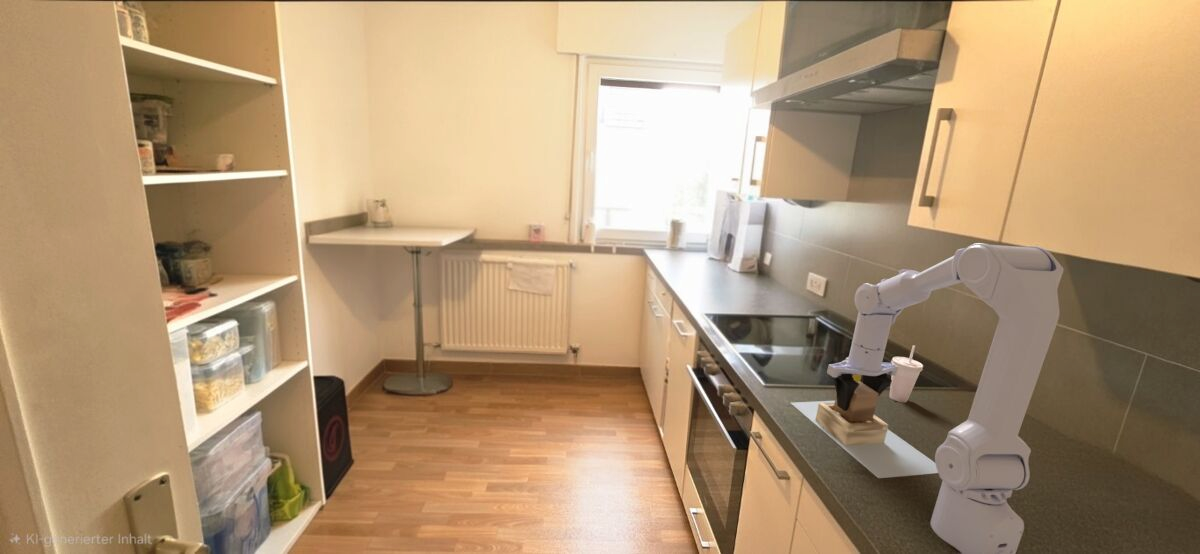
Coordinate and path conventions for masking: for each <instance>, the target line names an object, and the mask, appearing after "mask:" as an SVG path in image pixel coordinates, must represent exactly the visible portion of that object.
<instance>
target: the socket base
mask: <svg viewBox="0 0 1200 554" xmlns="http://www.w3.org/2000/svg"><path fill="white" fill-rule="evenodd" d="M834 404H835V403H819V405H818V410H817V415H816V419H815V421H817V422H818V423H819V424H820V425H821V426H823V427H824V428H825V429H826V430H827V431H828V432H830V433H831V434H832V435H833V436H834V437H836V438H837V439H838V440H839V441H840V442H841V443H843V444H844V445H845V446H846V445H860V444H875V443H884V441H885V438H886V434H887V430H889V424H888V423H886V422H885V421H884V420H882V419H881V418H880V417H878V416H877V415H876V414H874V415H873V419H872V421H859V422H850V421H849V420H847V419H846V418H845V417H844V416H842V415H841V414H840V413H838V412H837V411H836V410H835V409H833V408H834Z"/></svg>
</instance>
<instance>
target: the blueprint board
mask: <svg viewBox="0 0 1200 554" xmlns="http://www.w3.org/2000/svg"><path fill="white" fill-rule="evenodd" d="M819 403H835V400H821V401H819V400H818V401H817V400H816V401H802V402H801V401H797V402H790V405H792V406H793V407H794V408H796V409H797V410H798V411H799V412H801V414H802V415H803V416H804V417H806V418H807V419H809V421H811V422H812V423H813V424H814V425H815V426H816V427H818V428H819V429H820V430H821V431H822V432H823V433H824V434H826V435H827V436H828V437H830V438H831V440H833V441H834V442H835V443H836V444H837V445H839V446H840V447H841V448H842V449H843V450H845V451H846V452H847V453H848V454H849V455H850V456H852V458H853V459H855V460H856V461H857V462H858V463H860V464H861V465H862V466H863V467H865V468H866V469H867V470H868V471H869V472H870V473H871V474H872V475H874V477H876V478H877V479H887V478H896V477H897V478H898V477H909V476H920V475H923V476H924V475H930V474H931V475H933V474H939V473H938V471H937V468H936V464H935V461H934V460H932V459H931V458H929V457H928V456H926V455H925V454H923V453H922V452H921V451H919V450H918V449H916V448H915V447H914V446H912V445H911V444H909V443H908V442H907V441H905V440H904V439H902V438H901V437H900V436H898V435H897V434H896V433H894V432H893V431H891V430H890V429H888V430H887V434H886V438H885V441H884V443H875V444H860V445H846V446H845V445H844V444H843V443H841V442H840V441H839V440H838V439H837V438H836V437H834V436H833V435H832V434H831V433H830V432H828V431H827V430H826V429H825V428H824V427H823V426H821V425H820V424H819V423H818V422H817V421H815V419H816V415H817V410H818V405H819Z"/></svg>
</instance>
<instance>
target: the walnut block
mask: <svg viewBox="0 0 1200 554" xmlns="http://www.w3.org/2000/svg"><path fill="white" fill-rule="evenodd" d="M858 383H859V386H858V387H857V388H856V390H855V391H854V393H853V396H852V398H851V402H850V405H849V408H848V410H847V411H844V410H842V409H841V408H840V407H838V406H837V394H836V396H835V400H834V401H835V404H834V408H833V409H835V410H836V411H837V412H838V413H840V414H841V415H842V416H844V417H845V418H846V419H847V420H849V421H850V422H859V421H872V419H873V415H875V410H876V406H877V404H878V398H879V397H878V395H879V393H877V392H876V391H874V390H873V389H871V388H870V387H868V386H867V385H865V384H863V381H861V380H860V381H859V382H858Z"/></svg>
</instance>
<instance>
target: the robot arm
mask: <svg viewBox="0 0 1200 554" xmlns="http://www.w3.org/2000/svg"><path fill="white" fill-rule="evenodd" d="M1064 269H1065V268H1064V267H1063V266H1062V265H1061V263H1059V261H1058V260H1057V259H1056V258H1055V256H1054V255H1053V254H1052V253H1051V252H1050V251H1049V250H1048V249H1045V248H1043V247H1040V246H1013V245H1012V246H1011V245H999V244H998V245H997V244H989V243H982V242H977V243H973V244H971V245H969V246H966V247H964V248H960V249H957V250H956V251H955V253H954V255H953V256H951V257H948V258H946V259H945V260H942V261H940V262H939V263H937V264H935V265H933V266H930V267H929V268H926V269H925V270H922V271H921V272H920V271H917V270H914V269H913V270H912V269H906V268H905V269H904V268H903V269H901V270H898V274H896V275H895V276H892V277H890V278H883V279H881V280H880V282H878V283H877V284H871V283H868V282H867V283H863V284H862V285H860V286H858V288H857V289H856V292H855V294H854V305H855V309H856V310H857V312H858V313H857V318H856V323H855V327H854V332H853V336H852V340H851V346H850V350H849V355H848V357H846V358H845V360H846V361H843V360H842V361H843V362H842V361H840V362H836V363H831V364H830V363H829V364H828V366H827V370H826V373H827V374H828V375H829V376H830V377H832V380H833V383H834V388H835V392H836V395H837V406H838V407H840V408H841V409H842V410H844V411H847V410H848V408H849V405H850V402H851V398H852V396H853V393H854V391H855V390H856V388H857V387H858V386H859V383H858V382H856V381H854V380H853V379H854V378H852V376H853V375H862V383H863V384H865V385H867V386H868V387H870V388H871V389H873V390H874V391H876V392H877V393H879V395H878V398H879V397H880V396H881V394H882V393H883V392H884V391H885V390H886V389H888V387H890V386H891V382H892V380H891V377H888V375H890V376H891V375H892V376H896V374H897V370H898V367H897V366H896V365H894V364H892V362H883V360H884V355H885V352H886V351H885V350H886V347H887V343H888V339H889V334H890V331H891V330H890V329H891V326H893V325H894V324H895V323H896V320H897V318H898V316H899V315H900V314H901V313H902V312H903V310H904V309H905V308H908V307H911V306H913V305H914V306H915V305H917V304H920V303H923V302H925V301H927V300H928V299H929V298H930V296H931V294H932V292H933V291H937V290H940V289H943V288H947V287H950V286H953V285H957V284H961V283H962V284H964V286H965V287H966V288H968V289H969V290H970V291H971V293H974V294H975V295H976V297H978V298H979V299H980V300H981V301H983V302H984V303H985V304H986V305H987V306H988V307H990V308H991V309H993V311H994V312H995V313H996V315H997V316H998V317H999V318H998V323H997V326H996V329H995V332H994V336H993V338H992V342H991V345H990V348H989V351H988V354H987V358H986V360H985V364H984V367H983V370H982V373H981V376H980V379H979V382H978V386H977V389H976V392H975V395H974V398H973V401H972V404H971V407H970V411H969V414H968V417H967V419H966V420H965V421H964V422H962V423H960V424H958V425H956V426H955V427H954V428H952V429H950V430H949V431H948V433H947V437H946V438H945V440H944V442H943V443H941V444H940V445H939V446H938V447H937V449H936V451H935V456H934V462H935V464H936V468H937V471H938V473H937V474H938V475H939V478H940V479H941V480H942V482H941V486H940V487H939V488H940V489H939V491H938V496H937V499H936V502H935V506H934V509H933V511H932V516H931V519H930V523H929V524H930V527H931V528H932V530H933V532H934V533H935V534H936V535H937V536H938V538H940V539H941V540H943V541H944V542H946V543H947V544H948V545H950V546H952V547H954V548H955V549H956V550H957V551H959V552H958V553H957V552H956V554H1016V553H1017V550H1018V547H1019V544H1020V542H1021V540H1022V537H1023V533H1024V530H1025V522H1024V519H1022V518H1021V517H1020V515H1018V514H1017V513H1016V512H1015V511H1014V510H1013V509H1012V508H1011V506H1010V505H1009V504H1008V502H1007V499H1008V498H1011V497H1012V494H1013V490H1014V491H1019V490H1021V489H1024V488H1025V487H1026V486H1027V484H1028V483H1029V480H1030V476H1031V475H1030V474H1031V473H1030V467H1029V466H1030V465H1029V458H1030V454H1031V452H1032V450H1031V447H1029V446H1028V445H1027V443H1026V442H1025V441H1024V440H1023V439H1022V438H1021V437H1020V436H1019V433H1020V430H1021V428H1022V427H1021V426H1022V423H1023V421H1024V418H1025V416H1026V412H1027V411H1028V407H1029V404H1030V401H1031V399H1032V396H1033V394H1034V390H1035V388H1036V386H1037V385H1036V384H1037V381H1038V379H1039V377H1040V373H1041V371H1042V368H1043V365H1044V364H1043V363H1044V361H1045V358H1046V355H1047V353H1048V350H1049V347H1050V345H1051V342H1052V338H1053V336H1054V333H1055V330H1056V327H1057V324H1058V322H1059V318H1060V305H1059V303H1060V302H1059V296H1058V295H1059V294H1058V288H1059V285H1060V282H1061V280H1062V277H1063V274H1064Z"/></svg>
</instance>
